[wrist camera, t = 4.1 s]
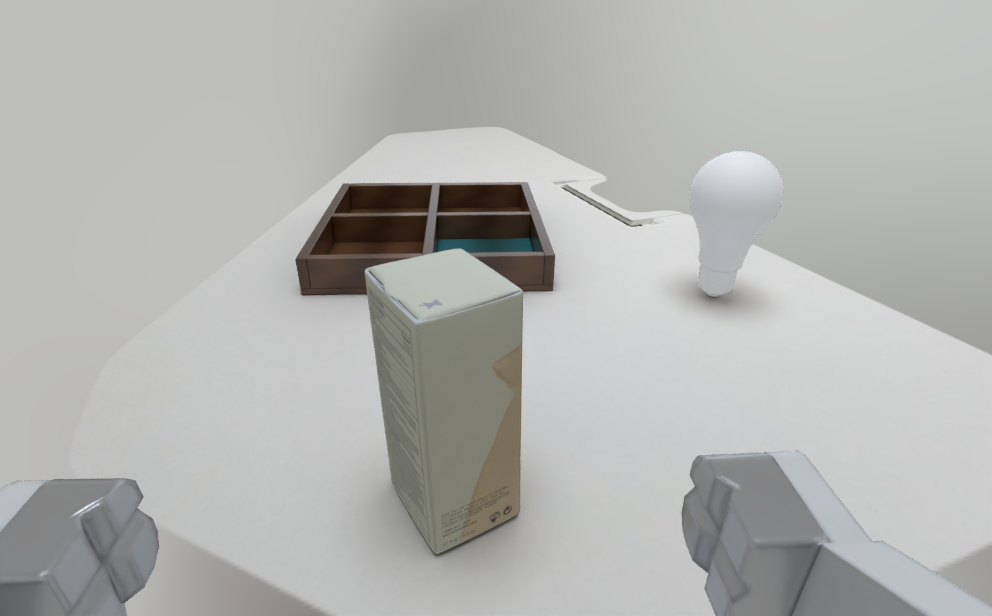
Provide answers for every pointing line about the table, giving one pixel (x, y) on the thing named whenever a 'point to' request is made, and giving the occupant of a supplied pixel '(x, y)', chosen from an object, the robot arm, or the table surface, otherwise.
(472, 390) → the box
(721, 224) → the lightbulb
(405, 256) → the grid
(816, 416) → the table surface
